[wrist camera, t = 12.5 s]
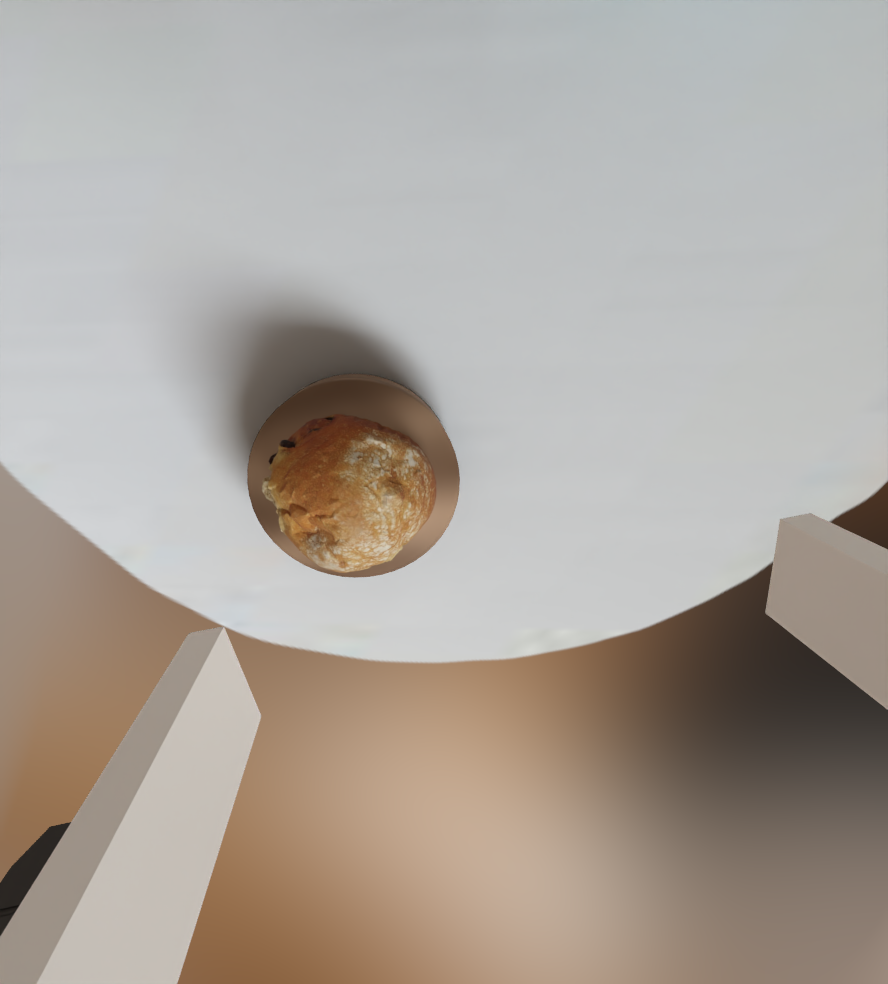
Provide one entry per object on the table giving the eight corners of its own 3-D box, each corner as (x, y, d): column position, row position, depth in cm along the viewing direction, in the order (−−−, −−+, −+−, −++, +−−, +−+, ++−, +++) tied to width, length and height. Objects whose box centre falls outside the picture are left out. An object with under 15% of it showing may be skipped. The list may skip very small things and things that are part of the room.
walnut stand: (235, 395, 31) (214, 405, 27) (433, 356, 32) (439, 360, 28) (296, 567, 36) (285, 595, 32) (465, 530, 37) (474, 554, 33)
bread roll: (357, 539, 35) (395, 613, 30) (228, 499, 29) (245, 586, 23) (430, 437, 33) (486, 496, 27) (308, 369, 26) (349, 428, 21)
